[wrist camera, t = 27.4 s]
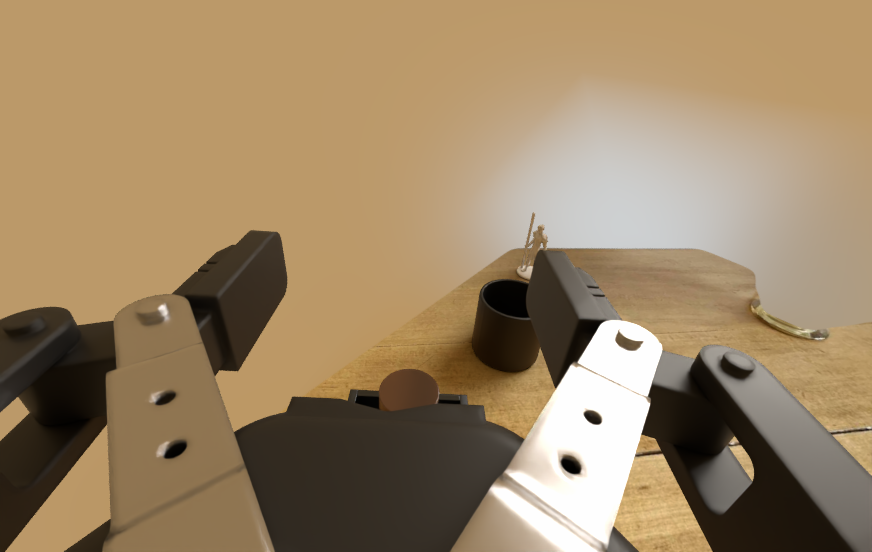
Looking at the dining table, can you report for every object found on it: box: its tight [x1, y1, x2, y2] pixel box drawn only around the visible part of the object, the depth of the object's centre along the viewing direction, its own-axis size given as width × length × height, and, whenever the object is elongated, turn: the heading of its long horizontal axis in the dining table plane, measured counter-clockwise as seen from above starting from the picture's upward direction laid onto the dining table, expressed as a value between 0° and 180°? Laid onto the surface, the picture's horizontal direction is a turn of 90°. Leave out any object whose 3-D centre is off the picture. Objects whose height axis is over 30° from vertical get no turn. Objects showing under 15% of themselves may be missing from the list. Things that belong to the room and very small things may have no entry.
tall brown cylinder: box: [379, 369, 439, 411], centre depth 33 cm, size 5×5×11 cm
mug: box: [472, 279, 540, 372], centre depth 52 cm, size 9×12×9 cm
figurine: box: [517, 213, 548, 280], centre depth 70 cm, size 5×5×12 cm
